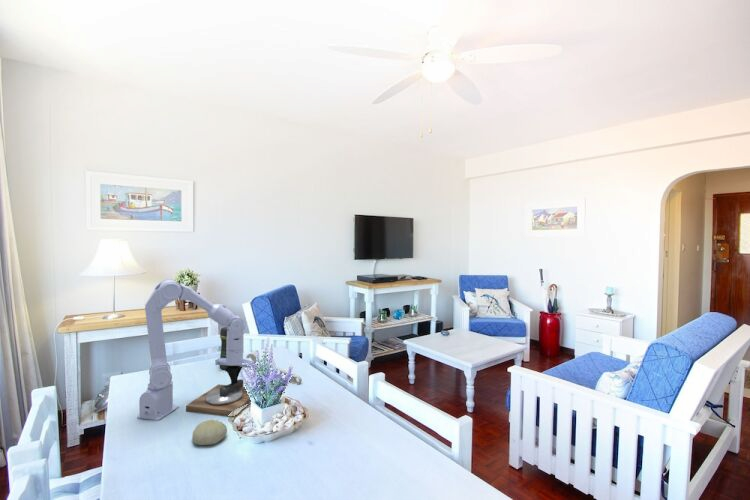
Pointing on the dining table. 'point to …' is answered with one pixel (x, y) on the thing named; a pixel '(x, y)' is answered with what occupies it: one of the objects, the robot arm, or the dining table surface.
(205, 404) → the dial base
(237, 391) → the dial
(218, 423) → the sea urchin shell
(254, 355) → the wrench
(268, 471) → the dining table surface
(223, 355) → the coffee jar
